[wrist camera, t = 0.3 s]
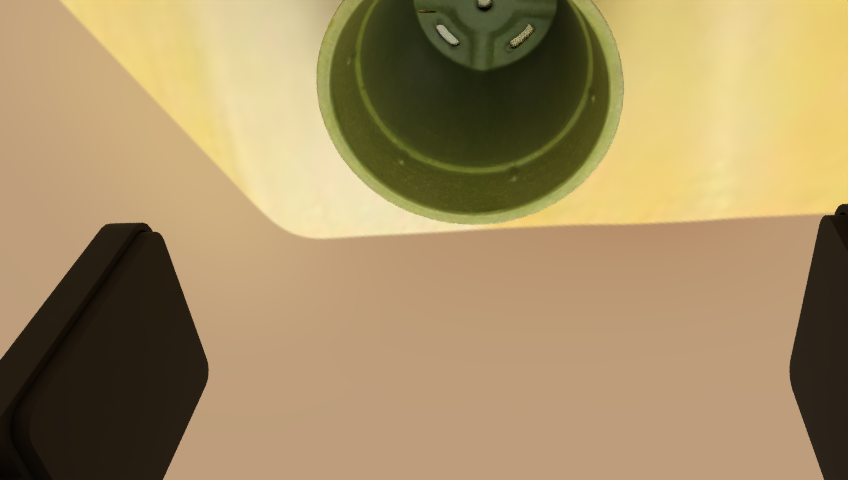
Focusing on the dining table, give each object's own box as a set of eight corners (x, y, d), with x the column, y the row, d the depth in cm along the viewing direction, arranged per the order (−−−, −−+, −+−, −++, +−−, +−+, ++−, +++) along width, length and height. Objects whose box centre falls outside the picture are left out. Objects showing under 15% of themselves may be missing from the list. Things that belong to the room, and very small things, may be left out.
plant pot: (399, -165, 36) (353, -104, 27) (645, -80, 37) (680, 7, 28) (341, 68, 43) (290, 178, 34) (549, 134, 44) (553, 259, 35)
